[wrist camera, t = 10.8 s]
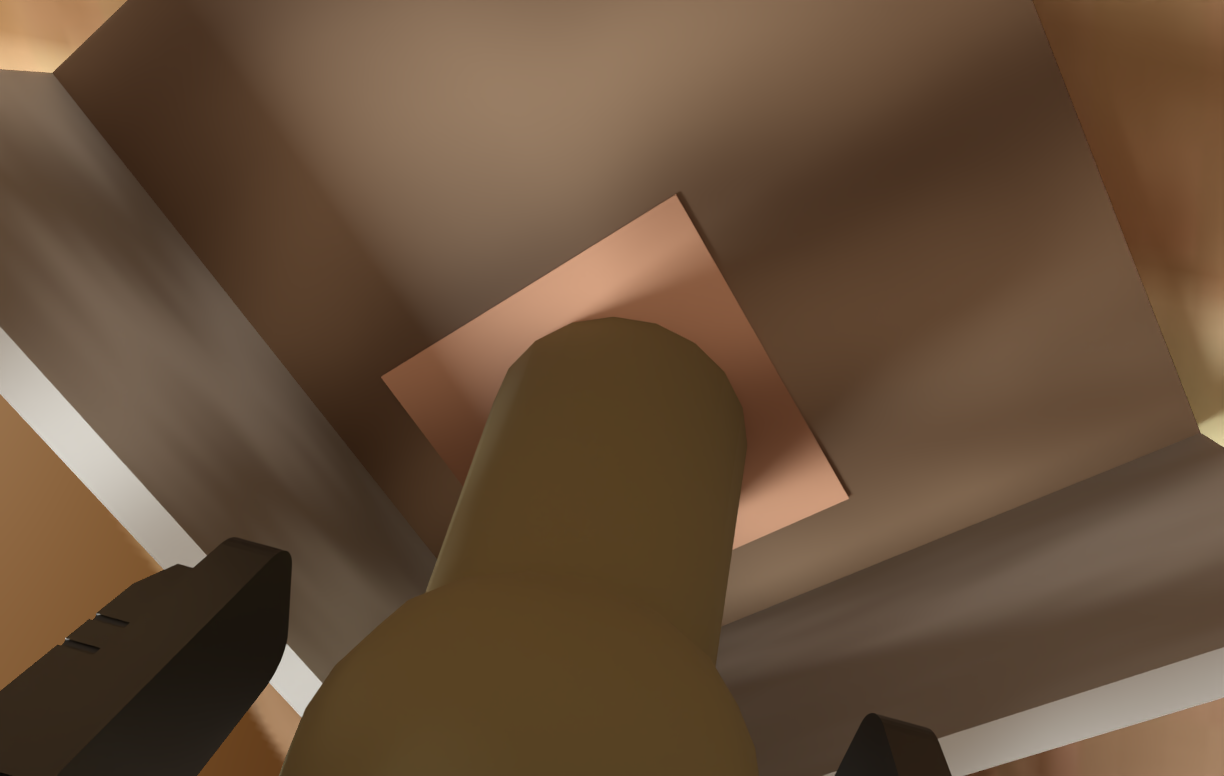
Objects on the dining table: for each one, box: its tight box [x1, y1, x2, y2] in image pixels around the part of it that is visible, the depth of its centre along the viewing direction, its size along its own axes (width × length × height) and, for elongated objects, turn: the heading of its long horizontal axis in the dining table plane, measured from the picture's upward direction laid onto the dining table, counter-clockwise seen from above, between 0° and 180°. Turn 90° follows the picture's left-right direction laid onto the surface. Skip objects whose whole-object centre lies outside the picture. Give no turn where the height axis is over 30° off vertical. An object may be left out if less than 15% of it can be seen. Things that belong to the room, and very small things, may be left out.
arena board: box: [0, 0, 1224, 776], centre depth 13 cm, size 20×18×6 cm
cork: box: [279, 317, 759, 776], centre depth 11 cm, size 6×6×11 cm
